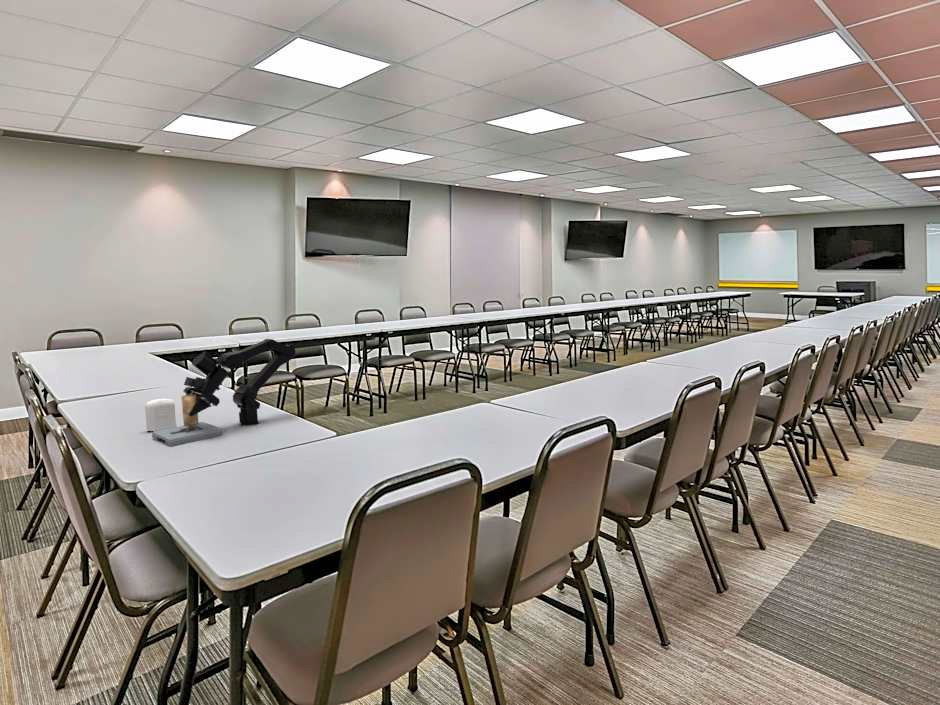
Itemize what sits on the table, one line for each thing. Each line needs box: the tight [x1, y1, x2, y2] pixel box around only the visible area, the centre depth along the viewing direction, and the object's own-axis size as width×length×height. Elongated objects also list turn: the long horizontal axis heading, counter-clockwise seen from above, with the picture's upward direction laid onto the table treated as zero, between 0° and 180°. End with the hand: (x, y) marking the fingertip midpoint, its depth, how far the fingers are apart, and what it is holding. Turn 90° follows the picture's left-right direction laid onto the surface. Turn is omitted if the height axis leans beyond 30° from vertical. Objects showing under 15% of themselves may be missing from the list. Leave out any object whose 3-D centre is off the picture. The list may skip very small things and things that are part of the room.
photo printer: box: [144, 398, 177, 432], centre depth 227 cm, size 10×4×12 cm, turn 123°
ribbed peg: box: [180, 394, 199, 433], centre depth 217 cm, size 5×5×14 cm
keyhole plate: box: [151, 421, 224, 447], centre depth 217 cm, size 19×16×2 cm
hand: (186, 414), depth 216 cm, fingers closed on ribbed peg, 5 cm apart
